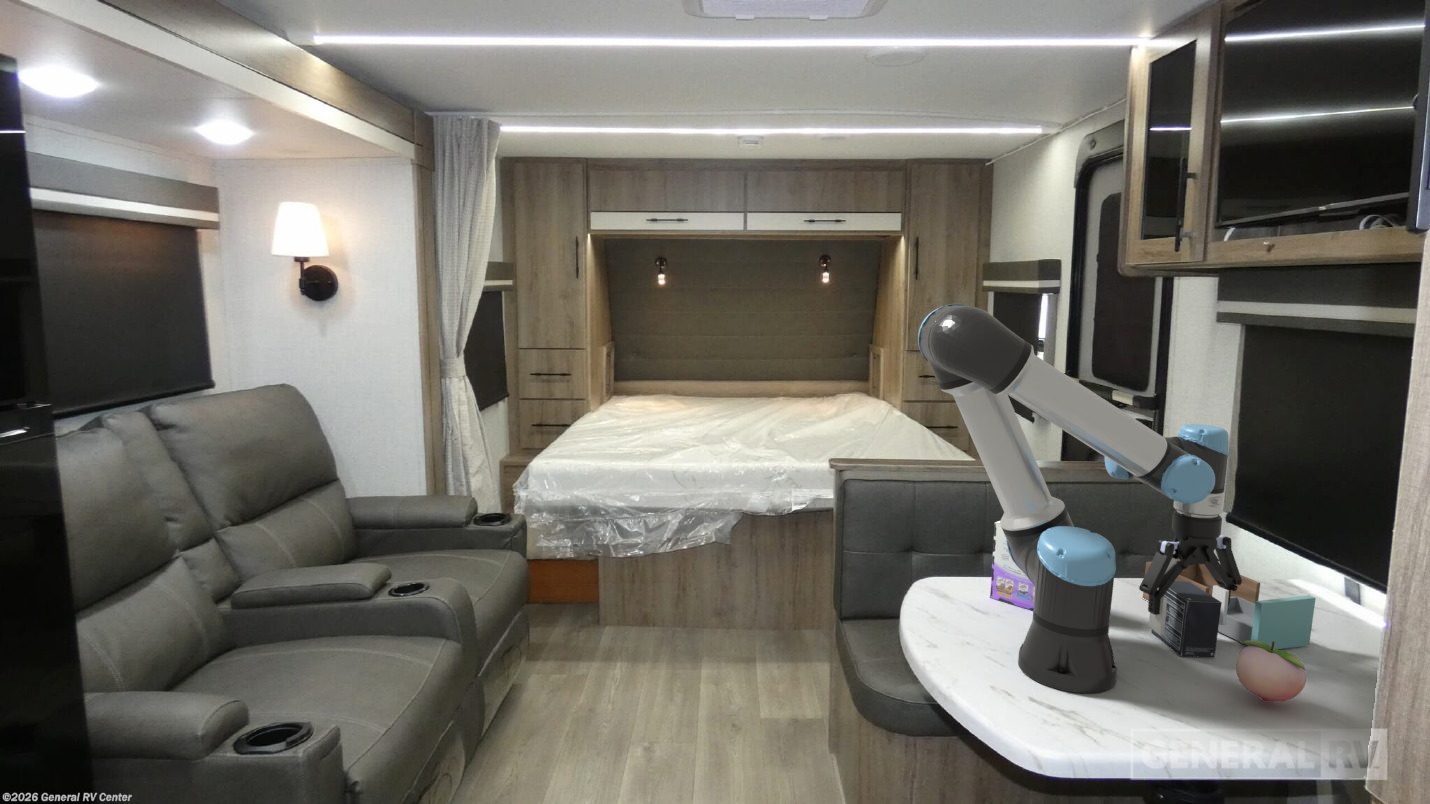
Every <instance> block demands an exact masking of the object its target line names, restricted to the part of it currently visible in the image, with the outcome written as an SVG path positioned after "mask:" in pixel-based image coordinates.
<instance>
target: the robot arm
mask: <svg viewBox="0 0 1430 804" xmlns="http://www.w3.org/2000/svg"><path fill="white" fill-rule="evenodd" d="M917 343H918V350H919V351H920V353H921V356H922V357H923V358H924V359H925V361H926V362H928V363H929V366H930V368H931V370H932V372H933V374H934V377H935V378H936V379H935V380H936V382H937V383H938V386H939V389H940V390H941V391H942V392H944V393H947V394H950V395H952V396H953V398H954V399H953V400H954V401H955V403H956V406H957V407H958V411H959V412H960V414H961V416H962V419H963V421H964V423H965V426H966V429H967V431H968V433H969V435H970V437H971V440H972V442H973V444H974V447H975V449H976V450H977V453H978V455H979V458H980V460H981V463H982V465H983V467H984V469H985V471H986V474H987V476H988V478H989V481H990V483H991V485H992V488H993V491H994V492H995V494H996V496H997V499H998V501H999V504H1000V506H1001V509H1002V510H1003V515H1002V517H1001V518H1000V520H1001V521H1000V520H999V521H1000V525H1001V527H1002V530H1003V532H1004V534H1005V537H1006V539H1007V540H1006V541H1007V547H1008V552H1009V554H1010V556H1011V558H1012V560H1013V562H1014V563H1015V564H1016V565H1017V567H1018V568H1019V569H1020V570H1022V571H1023V572H1024V574H1025V575H1026V576H1027V577H1028V578H1029V579H1030V581H1031V582H1032V583H1033V585H1034V586H1035V596H1034V609H1033V610H1032V621H1031V624H1030V626H1029V628H1028V631H1027V632H1026V636H1025V638H1024V639H1023V640H1024V641H1023V643H1021V646H1020V647H1019V650H1018V660H1017V663H1018V667H1019V669H1020V670H1021V672H1023V674H1025V675H1026V676H1027V677H1029V678H1030V679H1032V680H1034V681H1035V682H1038V683H1040V684H1042V685H1045V686H1047V687H1051V688H1054V689H1057V690H1061V691H1067V692H1072V693H1081V694H1095V693H1102V692H1106V691H1109V690H1111V689H1112V688H1113V687H1115V685H1116V683H1117V677H1118V676H1117V675H1118V673H1117V672H1118V667H1117V664H1116V663H1117V662H1116V660H1115V656H1114V652H1113V648H1112V644H1111V641H1110V640H1111V639H1110V637H1109V632H1110V629H1109V628H1110V621H1111V611H1112V603H1113V602H1112V601H1113V590H1114V580H1115V574H1116V569H1117V564H1116V550H1115V548H1114V546H1113V544H1112V543H1111V542H1110V540H1108V539H1107V538H1106V537H1105V536H1102V535H1101V534H1099V533H1097V532H1092V531H1091V530H1089V529H1087V528H1081V527H1076V526H1074V523H1073V521H1072V519H1071V516H1070V514H1069V512H1068V510H1067V506H1066V505H1065V503H1064V501H1063V500H1062V499H1059V498H1058V497H1057V498H1056V497H1054V496H1052V495H1051V493H1050V490H1049V488H1048V486H1047V482H1046V481H1045V478H1044V476H1043V474H1042V472H1041V469H1040V467H1039V464H1038V463H1037V460H1036V457H1035V455H1034V453H1033V450H1032V448H1031V446H1030V444H1029V442H1028V439H1027V436H1026V434H1025V433H1024V429H1023V427H1022V425H1021V423H1020V420H1019V418H1018V416H1017V413H1016V412H1015V411H1016V410H1015V408H1014V406H1013V405H1012V402H1011V400H1010V397H1011V398H1012V399H1014V400H1016V401H1017V402H1019V403H1020V404H1021V405H1023V406H1024V407H1026V408H1028V409H1029V410H1031V411H1033V412H1034V413H1035V414H1037V415H1039V416H1041V417H1042V418H1044V419H1045V420H1047V421H1048V422H1049V423H1052V424H1053V425H1054V426H1056V427H1058V428H1059V429H1061V430H1063V431H1064V432H1065V433H1067V434H1069V435H1071V436H1072V437H1074V438H1075V439H1077V440H1078V441H1080V442H1081V443H1083V444H1084V445H1086V446H1088V447H1089V448H1091V449H1093V450H1094V451H1096V452H1097V453H1099V454H1100V455H1102V456H1103V457H1104V466H1105V470H1106V472H1107V474H1108V475H1109V476H1110V477H1111V478H1113V479H1120V480H1121V479H1122V480H1125V481H1128V480H1137V481H1139V482H1141V483H1143V484H1144V485H1147V486H1149V487H1150V488H1152V489H1154V490H1155V491H1157V492H1159V493H1161V494H1162V495H1163V496H1165V497H1167V498H1168V499H1171V501H1173V508H1174V509H1175V510H1173V512H1172V519H1171V520H1172V521H1171V530H1172V531H1173V534H1174V538H1173V541H1167V540H1164V539H1162V538H1161V539H1160V540H1158V542H1157V546H1156V547H1157V548H1156V552H1155V554H1154V556H1153V559H1152V560H1151V561H1150V562H1151V564H1150V566H1149V568H1148V570H1147V572H1146V574H1145V573H1144V576H1143V579H1142V581H1141V583H1140V585H1139V588H1138V589H1139V591H1140V592H1142V593H1143V592H1144V593H1147V594H1149V602H1147V604H1148V607H1147V610H1148V612H1149V622H1148V623H1149V624H1148V628H1149V629H1151V630H1152V629H1153V630H1154V631H1156V632H1158V633H1160V634H1162V633H1164V628H1165V616H1166V604H1167V598H1165V597H1163V596H1164V594H1165V593H1166V592H1167V590H1168V589H1169V588H1170V586H1171V585H1172V584H1173V582H1174V581H1175V580H1176V578H1177V577H1178V576H1179V574H1180V573H1181V571H1182V570H1183V569H1186V568H1188V566H1189V565H1195V564H1204V565H1205V566H1206V568H1207V569H1208V571H1209V572H1210V574H1211V575H1212V576H1213V578H1214V579H1215V581H1216V582H1217V584H1218V585H1219V586H1217V585H1215V586H1213V593H1212V597H1214V598H1215V599H1217V600H1219V601H1220V602H1222V604H1221V611H1220V619H1219V624H1221V625H1226V618H1227V608H1228V605H1229V603H1230V595H1231V590H1232V591H1236V590H1237V585H1241V583H1242V579H1241V576H1240V575H1241V573H1240V571H1239V568H1238V565H1237V562H1236V558H1235V556H1234V553H1233V549H1232V537H1229V536H1226V535H1222V533H1221V532H1222V523H1223V518H1222V517H1221V514H1222V513H1223V510H1224V496H1225V486H1226V478H1227V469H1228V468H1227V467H1228V461H1229V460H1228V459H1229V455H1230V453H1229V452H1230V450H1229V449H1230V439H1229V436H1230V435H1229V432H1228V431H1227V430H1226V429H1225V428H1223V427H1220V426H1216V425H1209V424H1198V423H1197V424H1196V423H1195V424H1194V423H1193V424H1184V425H1182V426H1180V428H1179V432H1178V434H1177V436H1172V437H1171V436H1170V437H1169V436H1167V437H1165V436H1163V435H1161V434H1159V433H1158V432H1156V431H1154V430H1153V429H1151V428H1149V427H1148V426H1147V425H1145V424H1143V423H1142V422H1141V421H1139V420H1137V419H1136V418H1134V417H1133V416H1131V415H1129V414H1128V413H1127V412H1125V411H1123V410H1122V409H1120V408H1118V407H1117V406H1115V405H1114V404H1112V403H1111V402H1109V401H1108V400H1106V399H1104V398H1102V397H1101V396H1099V394H1097V393H1095V392H1093V391H1091V389H1089V388H1088V387H1086V386H1084V385H1083V384H1081V383H1080V382H1078V381H1077V380H1075V379H1073V378H1072V377H1070V376H1068V375H1067V374H1065V373H1064V372H1063V371H1060V369H1058V368H1057V367H1055V366H1053V365H1052V364H1050V363H1048V362H1047V361H1045V360H1043V359H1042V358H1040V357H1039V356H1037V355H1036V354H1035V351H1034V346H1033V345H1032V344H1031V343H1029V342H1028V341H1026V340H1025V339H1023V338H1022V337H1020V336H1019V335H1018V334H1016V333H1015V332H1014V331H1012V330H1011V329H1010V328H1008V327H1007V326H1006V325H1004V324H1003V323H1002V322H1001V321H999V320H998V318H996V317H995V316H993V315H992V314H990V313H989V312H988V311H986V310H984V309H981V308H980V307H975V306H970V305H964V304H963V303H950V304H946V305H943V306H939V307H938V308H936V309H934V310H933V311H931V312H930V313H928V315H927V316H926V317H924V319H923V321H922V322H921V325H920V326H919V329H918V334H917ZM1177 559H1179V560H1180V561H1179V560H1177ZM1157 588H1159V590H1157Z"/></svg>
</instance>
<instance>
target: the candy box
mask: <svg viewBox="0 0 1430 804" xmlns="http://www.w3.org/2000/svg"><path fill="white" fill-rule="evenodd" d="M1000 521H1001V519H1000V520H998V521H995V522H994V528H993V529H994V532H993V544H992V545H993V547H992V548H993V550H992V564H991V581H990V594H989V598H990V599H993V600H996V601H1000V602H1003V603H1007V604H1010V605H1013V606H1016V607H1020V608H1023V609H1027V610H1030V611H1033V609H1034V596H1035V586H1034V585H1033V583H1032V582H1031V581H1030V579H1029V578H1028V577H1027V576H1026V575H1025V574H1024V572H1023V571H1022V570H1020V569H1019V568H1018V567H1017V565H1016V564H1015V563H1014V562H1013V560H1012V558H1011V556H1010V554H1009V552H1008V547H1007V541H1006V540H1007V539H1006V537H1005V534H1004V532H1003V530H1002V527H1001V525H1000Z"/></svg>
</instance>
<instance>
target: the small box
mask: <svg viewBox="0 0 1430 804" xmlns="http://www.w3.org/2000/svg"><path fill="white" fill-rule="evenodd" d="M1157 590H1159V588H1157ZM1163 597H1165V598H1167V604H1166V616H1165V628H1164V633H1162V634H1160V633H1158V632H1156V631H1154V630H1153V629H1151V634H1153V635H1154V636H1155V637H1156V638H1157V639H1159V640H1160V641H1161V642H1162V643H1163V644H1164V645H1165V646H1167V647H1168V648H1169V649H1170V650H1172V651H1173V652H1174V653H1176V655H1178V656H1179V657H1181V658H1204V659H1205V658H1206V659H1207V658H1208V659H1214V658H1215V657H1216V650H1217V641H1218V634H1219V633H1218V632H1219V631H1218V627H1219V619H1220V611H1221V604H1222V602H1220V601H1219V600H1217V599H1215V598H1214V597H1212V596H1211V595H1209V594H1208V593H1206V592H1205V591H1203V590H1201V589H1200V588H1198V587H1197V586H1195V585H1194V584H1192V583H1191V582H1185V581H1174V582H1173V584H1172V585H1171V586H1170V588H1169V589H1168V590H1167V592H1166V593H1165V594H1164V596H1163Z"/></svg>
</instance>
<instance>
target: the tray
mask: <svg viewBox="0 0 1430 804" xmlns="http://www.w3.org/2000/svg"><path fill="white" fill-rule="evenodd" d="M1316 600H1317V599H1316V597H1315V596H1311V595H1310V594H1309V595H1301V596H1291V597H1289V596H1288V597H1282V598H1280V597H1279V598H1273V599H1272V598H1271V599H1270V598H1269V599H1261V600H1258V601H1256V603H1255V604H1254V603H1252V602H1250V601H1247V600H1245V599H1243V598H1240V597H1238V596H1233V597H1230V603H1229V605H1228V608H1227V618H1226V625H1221V624H1219V627H1218V632H1219V633H1221V634H1223V635H1225V636H1227V637H1230V638H1231V639H1234V640H1235V641H1238V643H1239V642H1240V644H1241V643H1242V642H1243V641H1247V640H1256V641H1261V642H1263V643H1266V644H1267V645H1269V646H1270V647H1271V646H1272V642H1273V641H1274V642H1275V643H1274V649H1275V650H1282V649H1289V648H1297V647H1298V648H1299V647H1306V646H1310V643H1311V635H1312V629H1313V619H1314V612H1315V604H1316ZM1244 645H1245V646H1246V647H1247V646H1250V645H1252V644H1244Z"/></svg>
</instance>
